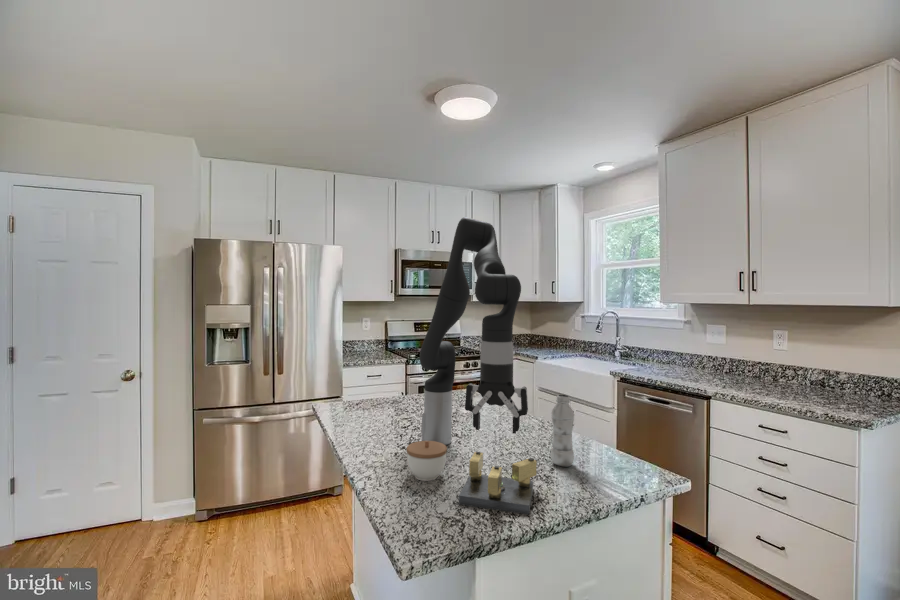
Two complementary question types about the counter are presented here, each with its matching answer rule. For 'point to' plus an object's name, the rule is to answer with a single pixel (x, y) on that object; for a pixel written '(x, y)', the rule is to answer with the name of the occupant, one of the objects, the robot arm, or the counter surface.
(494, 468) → the bar with square hole
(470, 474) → the knob
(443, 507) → the counter surface
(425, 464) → the lidded jar
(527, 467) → the knob
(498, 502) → the levelling plate
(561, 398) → the plastic bottle
